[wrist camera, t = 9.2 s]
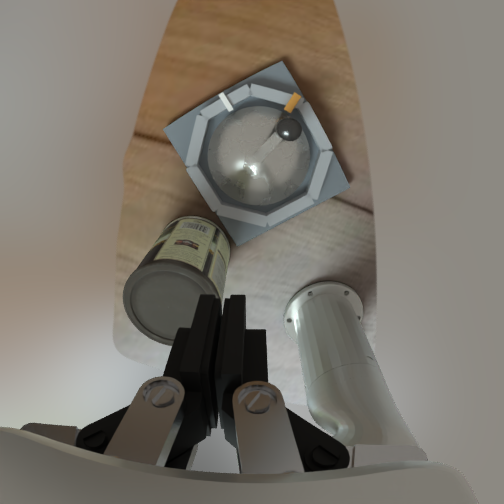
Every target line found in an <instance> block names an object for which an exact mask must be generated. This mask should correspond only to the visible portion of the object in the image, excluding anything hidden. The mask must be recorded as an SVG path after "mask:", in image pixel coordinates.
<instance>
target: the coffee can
mask: <svg viewBox="0 0 504 504" xmlns="http://www.w3.org/2000/svg"><path fill="white" fill-rule="evenodd" d="M229 258H230V246H229V241H228V239H227V237H226V235H225V234H224V232H223V231H222V230H221V228H220V227H219V226H217V225H216V224H215V223H213V222H212V221H210V220H208V219H205V218H202V217H198V216H186V217H181V218H178V219H176V220H174V221H172V222H171V223H170V224H169V225H167V227H166V228H165V229H164V230H163V232H162V234H161V235H160V237H159V238H158V240H157V241H156V242H155V244H154V245H153V247H152V248H151V249H150V251H149V252H148V254H147V255H146V256H145V258H144V259H143V261H142V262H141V263H140V265H139V266H138V268H137V269H136V270H135V271H134V272H133V273H132V274H131V275H130V277H129V278H128V280H127V282H126V284H125V287H124V291H123V304H124V308H125V311H126V313H127V315H128V317H129V319H130V320H131V322H132V323H133V324H134V326H135V327H136V328H137V329H138V330H139V331H140V332H142V333H143V334H144V335H146V336H147V337H149V338H150V339H152V340H154V341H156V342H159V343H162V344H165V345H169V346H172V345H173V342H174V339H175V336H176V333H177V330H178V328H179V327H184V328H191V325H192V322H193V318H194V314H195V311H196V307H197V304H198V300H199V297H200V294H215V296H216V298H221V306H222V299H223V293H224V286H225V280H226V273H227V267H228V262H229Z"/></svg>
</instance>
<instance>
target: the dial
mask: <svg viewBox="0 0 504 504" xmlns="http://www.w3.org/2000/svg"><path fill="white" fill-rule="evenodd" d="M309 163H310V149H309V144H308V141H307V138H306V135H305V134H304V132H303V130H302V127H301V125H300V123H299V122H298V121H297V120H295V119H293V118H291V117H290V116H289V115H287V114H285V113H284V112H282V111H279V110H277V109H274V108H270V107H264V106H253V107H247V108H243V109H240V110H238V111H236V112H234V113H232V114H230V115H229V116H228V117H226V118H225V119H224V120H223V121H222V122H221V123H220V124H219V125H218V127H217V128H216V129H215V131H214V133H213V135H212V137H211V139H210V143H209V147H208V165H209V169H210V172H211V175H212V177H213V179H214V180H215V182H216V184H217V185H218V186H219V187H220V189H221V190H222V191H223V192H224V193H226V194H227V195H228V196H230V197H231V198H233V199H235V200H237V201H239V202H242V203H245V204H249V205H269V204H273V203H276V202H279V201H281V200H283V199H285V198H287V197H288V196H290V195H291V194H292V193H293V192H294V191H296V190H297V188H298V187H299V186H300V185H301V183H302V182H303V180H304V178H305V176H306V174H307V171H308V168H309Z"/></svg>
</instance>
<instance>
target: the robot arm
mask: <svg viewBox="0 0 504 504" xmlns="http://www.w3.org/2000/svg"><path fill="white" fill-rule="evenodd" d="M309 291H310V292H309ZM362 317H363V305H362V302H361V300H360V298H359V296H358V294H357V293H356V292H355V291H354V290H353V289H352V288H351V287H349V286H347V285H345V284H343V283H339V282H331V281H327V282H319V283H316V284H312V285H310V286H308V287H305V288H304V289H302V290H301V291H299V292H298V293H297V294H296V295H295V296H294V297H293V298H292V299H291V300H290V302H289V303H288V305H287V307H286V309H285V313H284V326H285V330H286V333H287V335H288V336H289V337H290V339H291V340H292V341H293V342H295V343H296V344H298V348H299V354H300V361H301V367H302V373H303V379H304V386H305V392H306V398H307V405H308V409H309V412H310V414H311V416H312V418H313V419H314V421H315V422H316V423H317V424H318V425H319V426H321V427H322V428H323V429H325V430H326V431H327V432H329V433H331V434H333V435H334V436H332V437H331V436H329V435H328V434H326V433H324V432H323V431H321V430H320V429H318V428H317V427H315V426H313V425H312V424H310V423H309V422H307V421H306V420H304V419H303V418H301V417H300V416H298V415H297V414H295V413H294V412H292V411H291V410H289V409H287V408H286V407H285V403H284V400H283V396H282V394H281V392H280V390H279V389H278V388H277V387H276V386H274V385H272V384H270V383H268V368H267V345H266V329H246V297H245V295H231V296H230V299H228V298H225V302H224V308H223V315H222V306H221V298H216V296H215V294H200V297H199V300H198V304H197V307H196V311H195V314H194V318H193V322H192V325H191V328H184V327H179V328H178V330H177V333H176V336H175V339H174V342H173V345H172V348H171V352H170V355H169V358H168V361H167V364H166V367H165V371H164V374H163V376H161V377H155V378H152V379H150V380H148V381H146V382H145V383H143V385H142V386H141V387H140V388H139V390H138V392H137V394H136V396H135V397H134V399H133V401H132V403H131V404H130V405H129V406H127V407H125V408H123V409H121V410H119V411H117V412H114V413H112V414H110V415H108V416H106V417H104V418H102V419H100V420H98V421H96V422H94V423H91V424H89V425H88V426H86V427H84V428H83V429H78V428H77V427H76V426H62V425H50V424H41V423H28V424H26V425H24V426H23V427H22V428H21V429H16V428H10V427H0V504H479V503H478V500H477V498H476V496H475V494H474V491H473V490H472V488H471V486H470V484H469V483H468V481H467V479H466V478H465V476H464V475H463V474H462V473H461V472H460V471H459V470H457V469H456V468H454V467H452V466H449V465H447V464H443V463H438V462H430V461H428V459H427V456H426V453H425V452H424V451H423V450H422V449H421V448H420V446H419V444H418V442H417V441H416V439H415V437H414V435H413V434H412V432H411V431H410V429H409V427H408V426H407V424H406V422H405V421H404V419H403V417H402V416H401V414H400V412H399V410H398V408H397V407H396V404H395V402H394V400H393V398H392V395H391V393H390V391H389V389H388V386H387V384H386V382H385V379H384V377H383V374H382V372H381V370H380V367H379V365H378V362H377V360H376V358H375V355H374V353H373V351H372V348H371V346H370V344H369V342H368V339H367V337H366V335H365V332H364V330H363V328H362V326H361V324H360V323H361V321H362ZM218 413H219V416H220V424H221V428H222V429H224V433H225V439H226V440H227V441H228V442H229V443H230V444H231V445H233V446H234V447H235V448H236V453H237V459H238V466H239V473H240V474H233V473H232V474H231V473H214V472H202V471H191V467H192V464H193V461H194V458H195V455H196V452H197V449H198V443H199V442H201V441H202V440H204V439H205V438H206V436H210V434H211V428H217V422H218Z"/></svg>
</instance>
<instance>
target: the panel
mask: <svg viewBox="0 0 504 504" xmlns="http://www.w3.org/2000/svg"><path fill="white" fill-rule="evenodd" d="M253 106H264V107H270V108H274V109H277V110H279V111H282V112H284V113H285V114H287V115H289V116H290V117H291V118H293V119H295V120H297V121H298V122H299V123H300V125H301V127H302V130H303V132H304V134H305V135H306V138H307V141H308V144H309V149H310V163H309V168H308V171H307V174H306V176H305V178H304V180H303V182H302V183H301V185H300V186H299V187H298V188H297V190H296V191H294V192H293V193H292V194H291V195H290V196H288V197H287V198H285V199H283V200H281V201H279V202H276V203H273V204H269V205H249V204H245V203H242V202H239V201H237V200H235V199H233V198H231V197H230V196H228V195H227V194H226V193H224V192H223V191H222V190H221V189H220V187H219V186H218V185H217V184H216V182H215V180H214V179H213V177H212V175H211V172H210V169H209V165H208V147H209V143H210V139H211V137H212V135H213V133H214V131H215V129H216V128H217V127H218V125H219V124H220V123H221V122H222V121H223V120H224V119H225V118H226V117H228V116H229V115H230V114H232V113H234V112H236V111H238V110H240V109H243V108H247V107H253ZM163 130H164V132H165V133H166V135H167V136H168V138H169V140H170V141H171V143H172V144H173V146H174V148H175V149H176V151H177V152H178V154H179V156H180V157H181V159H182V160H183V162H184V163H185V165H186V167H187V169H186V171H187V172H188V174H189V175H190V177H191V179H192V180H193V182H194V183H195V185H196V186H197V188H198V190H199V191H200V193H201V194H202V196H203V197H204V199H205V201H206V202H207V204H208V205H209V207H210V208H211V210H212V212H214V211H215V212H216V214H217V215H218V217H219V219H220V220H221V222H222V223H223V225H224V226H225V228H226V229H227V231H228V233H229V234H230V236H231V237H232V239H233V240H234V242H235V243H236V245H237V247H238V246H240V245H241V244H243V243H245V242H247V241H249V240H251V239H253V238H255V237H257V236H258V235H260V234H262V233H264V232H266V231H268V230H270V229H272V228H274V227H276V226H277V225H279V224H281V223H283V222H285V221H287V220H289V219H291V218H293V217H295V216H297V215H298V214H300V213H302V212H304V211H306V210H308V209H310V208H312V207H314V206H316V205H318V204H320V203H321V202H323V201H325V200H327V199H329V198H331V197H333V196H335V195H337V194H339V193H341V192H343V191H345V190H347V189H348V188H350V185H349V183H348V181H347V179H346V177H345V175H344V173H343V171H342V168H341V166H340V164H339V162H338V160H337V158H336V156H335V154H334V152H333V150H332V148H333V147H332V145H331V143H330V141H329V139H328V137H327V136H326V134H325V132H324V130H323V128H322V126H321V124H320V122H319V120H318V119H317V117H316V115H315V113H314V111H313V109H312V108H311V106H310V104H309V102H307V101H306V100H305V98H304V96H303V94H302V93H301V91H300V89H299V88H298V86H297V84H296V83H295V81H294V79H293V78H292V76H291V74H290V73H289V71H288V69H287V68H286V66H285V65H284V63H283V61H281V62H279V63H276V64H274V65H272V66H270V67H268V68H266V69H264V70H262V71H260V72H258V73H256V74H254V75H252V76H251V77H249V78H247V79H245V80H243V81H241V82H239V83H237V84H236V85H234V86H232V87H230V88H228V89H227V90H225V91H223V92H221V93H220V94H218V95H216V96H215V97H213V98H211V99H209V100H208V101H206V102H204V103H203V104H201V105H200V106H198V107H196V108H195V109H193V110H192V111H190V112H188V113H187V114H185V115H184V116H182V117H181V118H179V119H178V120H176V121H175V122H173V123H172V124H170V125H169V126H167V127H166V128H164V129H163Z"/></svg>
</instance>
